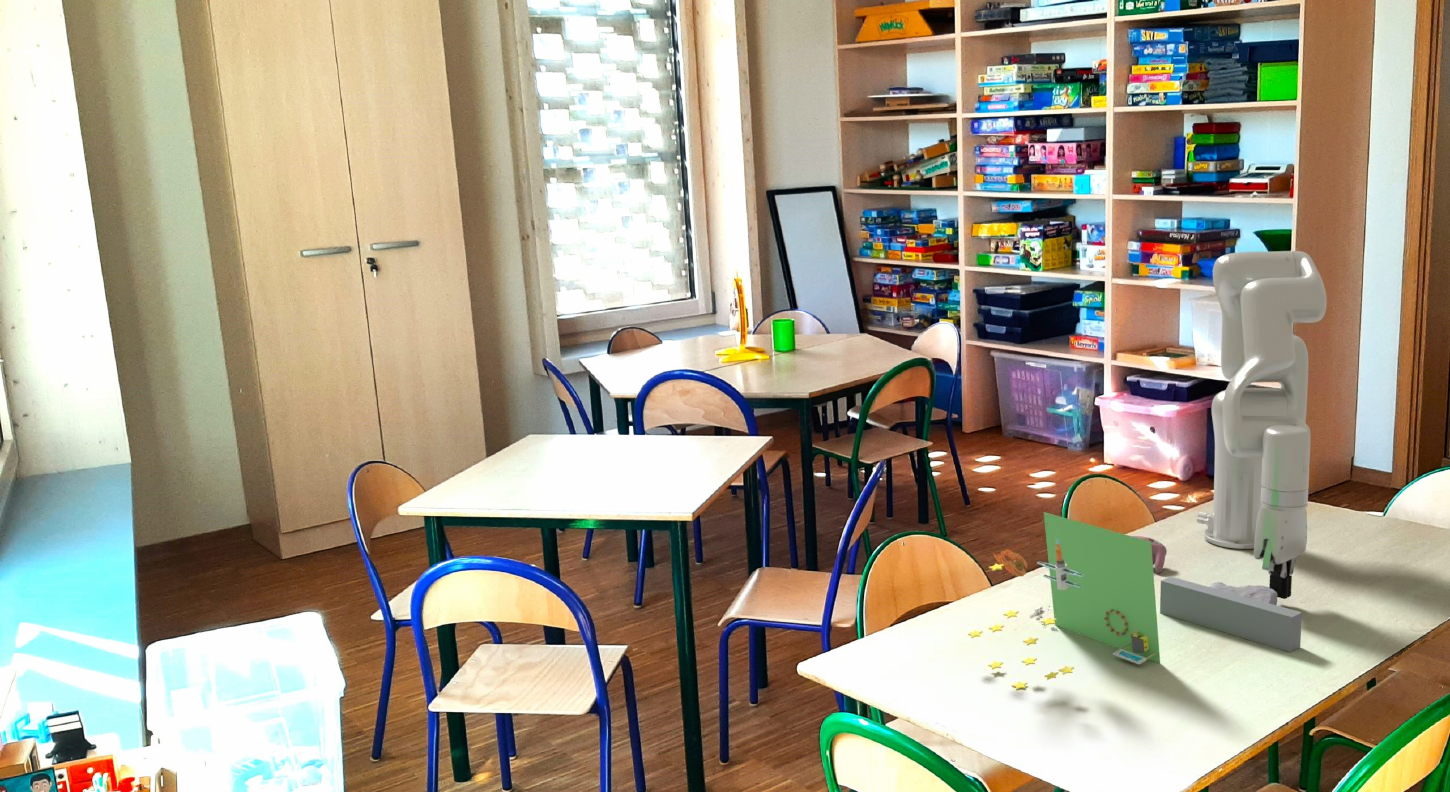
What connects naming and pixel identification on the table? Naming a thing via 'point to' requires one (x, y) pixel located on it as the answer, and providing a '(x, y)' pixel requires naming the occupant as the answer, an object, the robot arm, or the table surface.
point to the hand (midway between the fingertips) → (1279, 595)
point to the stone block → (1250, 592)
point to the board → (1231, 613)
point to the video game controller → (1156, 553)
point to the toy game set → (1095, 588)
